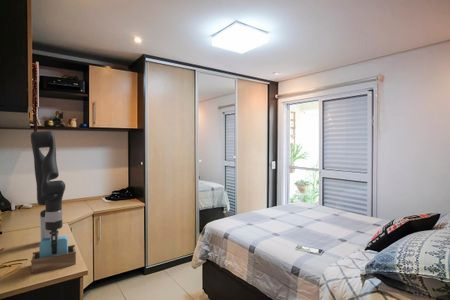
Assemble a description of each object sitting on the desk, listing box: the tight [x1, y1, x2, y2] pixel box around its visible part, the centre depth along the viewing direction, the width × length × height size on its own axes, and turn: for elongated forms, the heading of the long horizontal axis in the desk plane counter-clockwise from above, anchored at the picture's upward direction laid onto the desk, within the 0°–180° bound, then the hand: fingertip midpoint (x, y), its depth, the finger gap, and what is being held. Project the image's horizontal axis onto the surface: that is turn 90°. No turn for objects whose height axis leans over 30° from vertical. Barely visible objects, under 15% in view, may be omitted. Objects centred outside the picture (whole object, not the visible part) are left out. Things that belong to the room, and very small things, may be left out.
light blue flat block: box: [38, 235, 69, 258], centre depth 137 cm, size 12×4×12 cm, turn 115°
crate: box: [30, 244, 77, 274], centre depth 137 cm, size 12×19×6 cm, turn 122°
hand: (54, 251), depth 137 cm, fingers closed on light blue flat block, 4 cm apart
